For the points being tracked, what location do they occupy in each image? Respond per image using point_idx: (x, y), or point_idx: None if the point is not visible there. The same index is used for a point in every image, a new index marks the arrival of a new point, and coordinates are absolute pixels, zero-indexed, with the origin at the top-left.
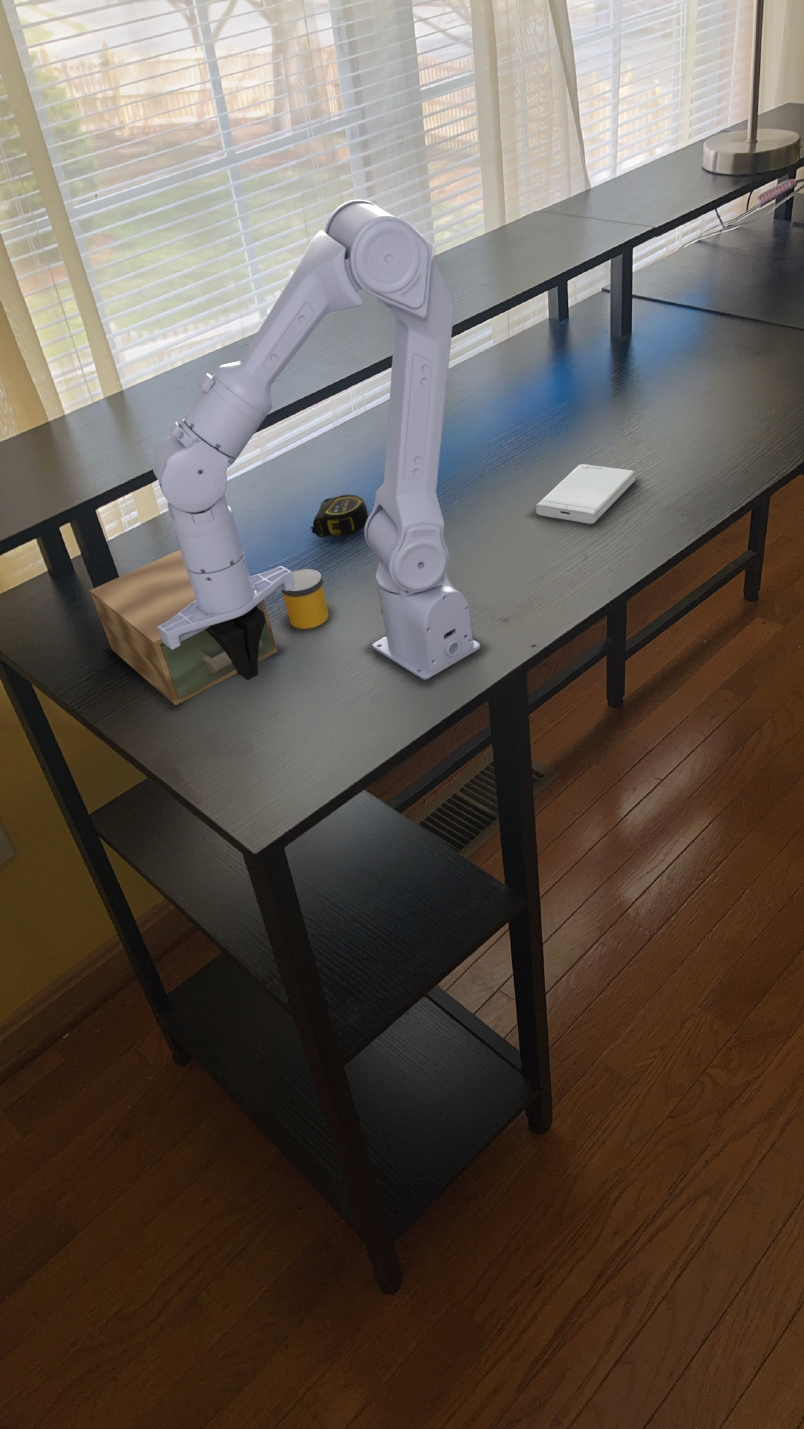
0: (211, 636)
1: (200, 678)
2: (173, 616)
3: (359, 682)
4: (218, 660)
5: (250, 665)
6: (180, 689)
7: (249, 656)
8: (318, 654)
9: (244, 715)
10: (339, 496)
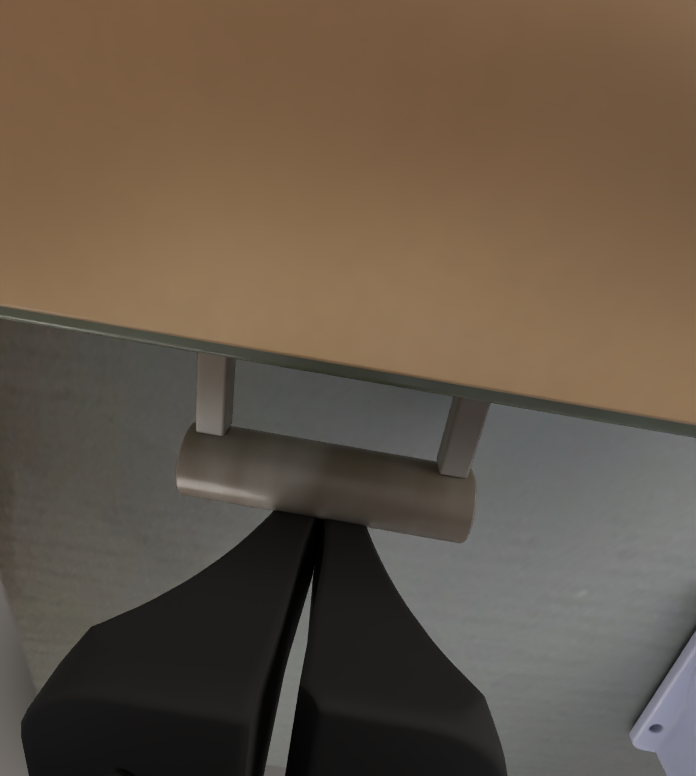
0: None
1: None
2: (93, 15)
3: (557, 622)
4: (220, 498)
5: (312, 587)
6: None
7: (309, 631)
8: (643, 445)
9: None
10: None
